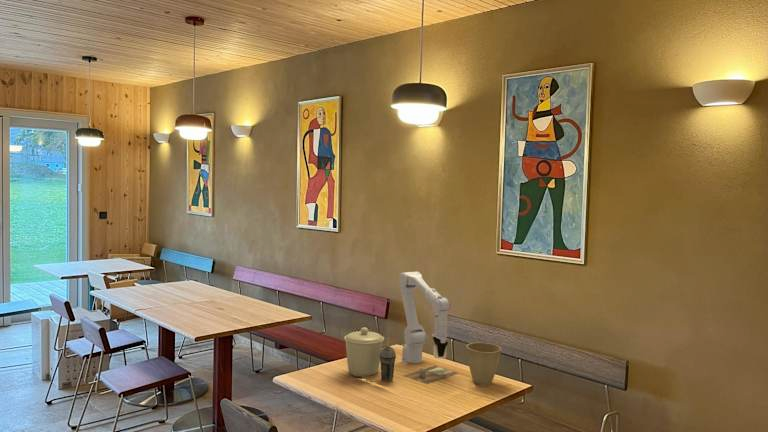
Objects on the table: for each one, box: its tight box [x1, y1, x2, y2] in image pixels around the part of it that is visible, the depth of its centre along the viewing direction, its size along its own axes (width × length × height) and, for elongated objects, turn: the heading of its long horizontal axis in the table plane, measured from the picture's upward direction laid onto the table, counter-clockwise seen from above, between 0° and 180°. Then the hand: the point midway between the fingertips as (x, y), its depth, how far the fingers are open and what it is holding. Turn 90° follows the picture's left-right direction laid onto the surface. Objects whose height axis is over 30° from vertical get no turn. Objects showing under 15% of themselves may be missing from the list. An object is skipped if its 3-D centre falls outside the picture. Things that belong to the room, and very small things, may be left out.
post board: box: [403, 365, 459, 385], centre depth 249 cm, size 14×22×5 cm, turn 135°
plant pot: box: [466, 342, 502, 387], centre depth 242 cm, size 15×15×16 cm
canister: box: [343, 326, 385, 378], centre depth 250 cm, size 18×18×21 cm
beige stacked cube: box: [432, 343, 448, 359], centre depth 252 cm, size 5×5×5 cm
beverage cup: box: [379, 336, 397, 383], centre depth 240 cm, size 7×7×20 cm
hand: (439, 354), depth 252 cm, fingers closed on beige stacked cube, 5 cm apart
